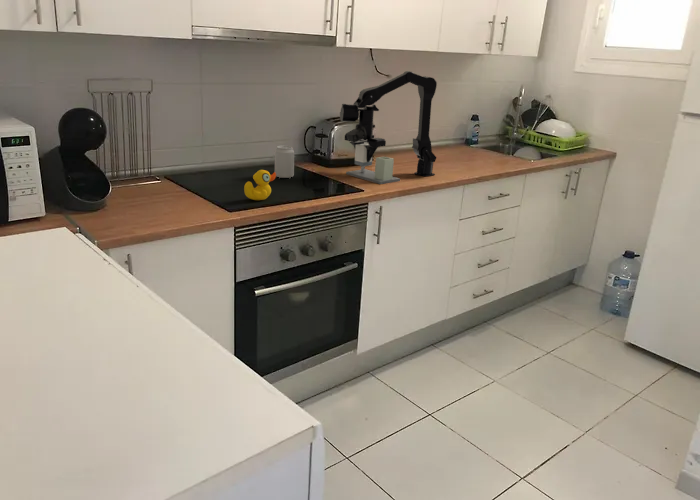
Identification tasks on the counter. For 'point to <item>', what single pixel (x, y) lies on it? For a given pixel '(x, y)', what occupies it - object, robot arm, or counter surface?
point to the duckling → (259, 185)
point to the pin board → (377, 172)
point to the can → (284, 162)
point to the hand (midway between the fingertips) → (363, 160)
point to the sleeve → (361, 155)
